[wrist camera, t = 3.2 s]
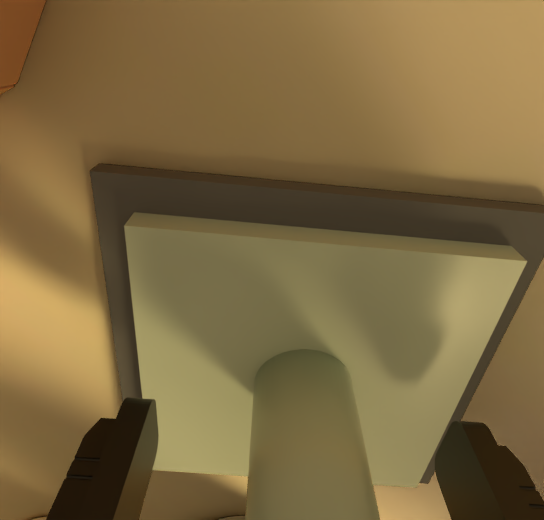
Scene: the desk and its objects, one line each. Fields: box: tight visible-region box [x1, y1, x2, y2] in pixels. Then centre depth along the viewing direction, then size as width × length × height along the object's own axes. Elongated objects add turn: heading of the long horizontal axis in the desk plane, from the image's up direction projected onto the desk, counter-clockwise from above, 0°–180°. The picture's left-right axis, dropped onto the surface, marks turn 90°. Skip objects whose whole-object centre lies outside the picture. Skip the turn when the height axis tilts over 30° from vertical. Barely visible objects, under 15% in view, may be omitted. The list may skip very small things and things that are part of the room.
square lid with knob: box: [124, 212, 527, 520], centre depth 10 cm, size 10×10×6 cm
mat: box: [90, 164, 544, 484], centre depth 13 cm, size 12×12×1 cm
